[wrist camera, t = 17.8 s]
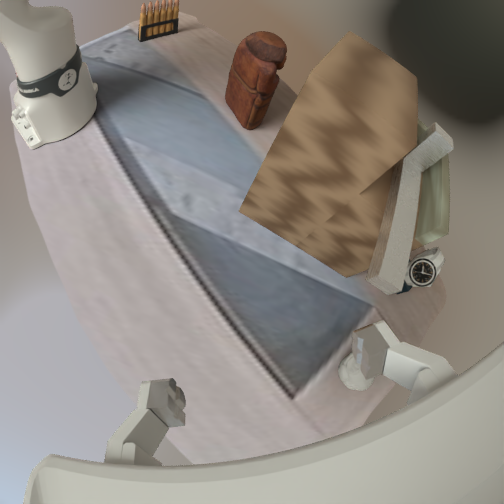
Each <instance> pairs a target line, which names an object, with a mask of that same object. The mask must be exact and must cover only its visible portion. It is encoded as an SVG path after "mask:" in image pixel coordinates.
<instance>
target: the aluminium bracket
mask: <svg viewBox="0 0 504 504" xmlns="http://www.w3.org/2000/svg"><path fill="white" fill-rule="evenodd" d="M453 149H454V147H453V139H452V138H451V137H450V136H449V135H448V134H447V133H446V132H445V131H444V130H443V129H442V128H441V127H440V126H439V125H438V124H437V123H436V122H435V123H433V124H432V125H431V126H430V127H429V128H428V129H427V130H426V131H425V132H423V133H422V134H421V135H420V136H419V137H418V138H417V146H416V147H414V148H413V149H412V150H411V151H410V152H409V153H407V154H406V155H405V156H404V157H403V158H402V159H400V160H399V161H398V162H397V163H396V164H394V170H393V175H392V180H391V185H390V190H389V194H388V199H387V203H386V208H385V212H384V216H383V220H382V224H381V228H380V232H379V235H378V239H377V243H376V246H375V250H374V253H373V257H372V260H371V263H370V266H369V270H368V273H367V276H366V279H365V280H366V281H367V282H369V283H370V284H372V285H373V286H375V287H376V288H378V289H379V290H381V291H382V292H384V293H385V294H387V295H390V294H393V293H397V292H401V291H402V288H403V284H404V279H405V275H406V271H407V266H408V262H409V257H410V252H411V247H412V241H413V235H414V229H415V223H416V216H417V209H418V201H419V191H420V181H421V173H422V172H424V171H425V170H426V169H428V168H429V167H430V166H432V165H433V164H434V163H436V162H437V161H438V160H440V159H441V158H442V157H444V156H445V155H446V154H447V153H449V152H450V151H451V150H453Z"/></svg>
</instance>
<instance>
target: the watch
mask: <svg viewBox="0 0 504 504" xmlns="http://www.w3.org/2000/svg"><path fill="white" fill-rule="evenodd" d="M444 262H445V259H444V256H443V254H442V253H441V251H440V249H439V248H438V247H435V248H432V249H430V250H429V249H428V250H426V251H424V252H423V253H421V254H419V255H417V256H416V257H415V258H413V260H412V261H410V259H409V262H408V266H407V271H406V275H405V279H404V284H403V288H402V291H401V292H397V294H400V293H403V292H407V291H409V290H410V289H411V288H412V287H427V286H428V287H430V286H432V283H433V282H434V280H435V279H436V276H437V275H438V274H439V272H440V271H441V267H442V266H443V264H444Z"/></svg>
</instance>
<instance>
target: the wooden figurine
mask: <svg viewBox="0 0 504 504" xmlns="http://www.w3.org/2000/svg"><path fill="white" fill-rule="evenodd" d="M286 52H287V47H286V44H285V43H284V41H283V40H282V39H281V38H280V37H279V36H277V35H275V34H273V33H270V32H265V31H259V32H255V33H252V34H250V35H249V36H247V37H246V38H245V39H243V40H242V41H241V43H240V44H239V46H238V48H237V50H236V52H235V55H234V59H233V63H232V66H231V70H230V72H229V79H228V84H227V88H226V95H225V99H226V103H227V104H228V106H229V107H230V109H231V110H232V111H233V113H234V114H235V116H236V118H237V119H238V121H239V122H240V123H241V125H242V126H243V127H244V128H246V129H248V130H252V129H254V128H256V127H257V126H258V125H260V123H261V122H262V120H263V118H264V116H265V114H266V111H267V109H268V106H269V103H270V101H271V98H272V96H273V94H274V91H275V89H276V87H277V85H278V83H279V76H278V75H277V74H276V71H277V70H280V69H282V68H283V67H284V63H285V61H286Z"/></svg>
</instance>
